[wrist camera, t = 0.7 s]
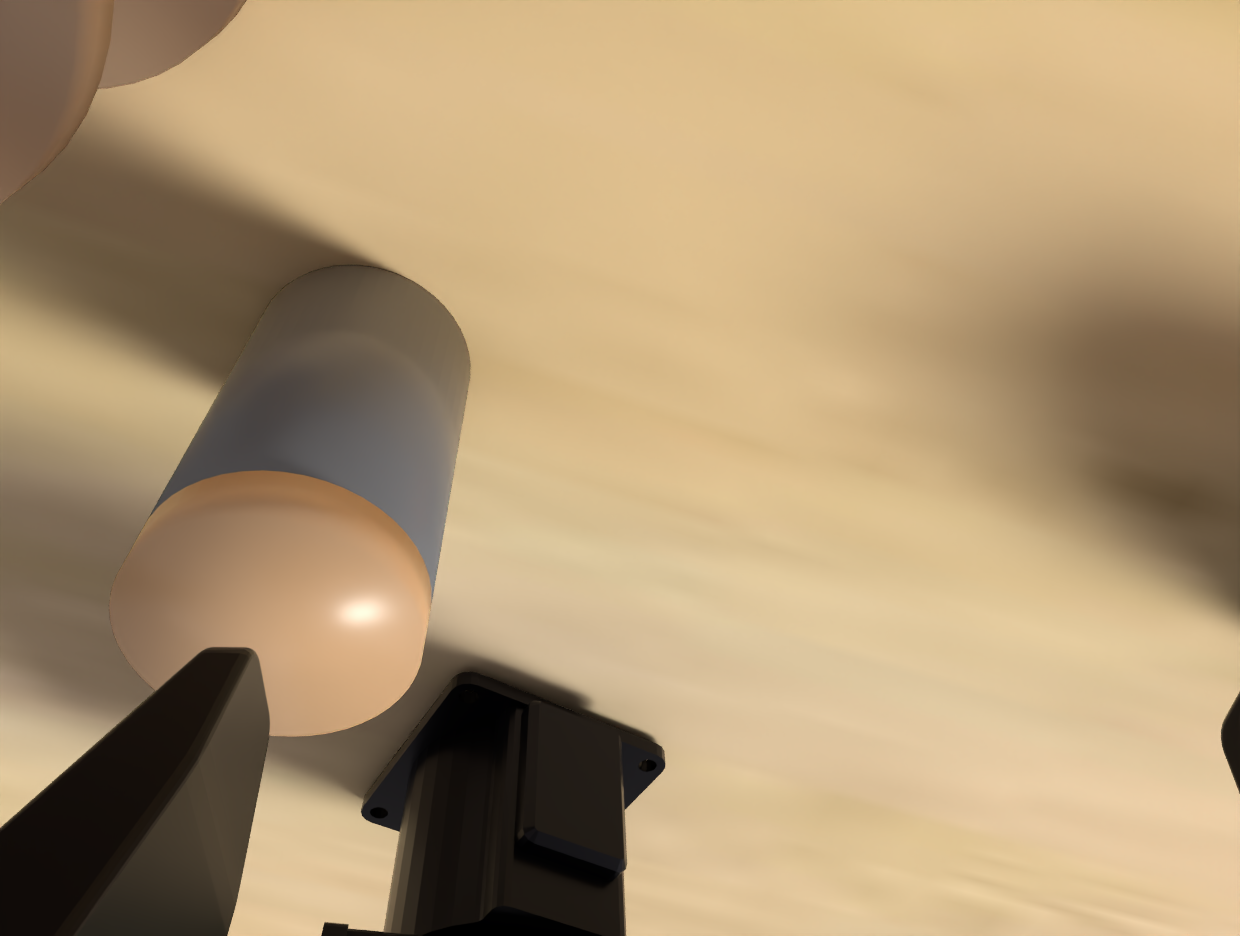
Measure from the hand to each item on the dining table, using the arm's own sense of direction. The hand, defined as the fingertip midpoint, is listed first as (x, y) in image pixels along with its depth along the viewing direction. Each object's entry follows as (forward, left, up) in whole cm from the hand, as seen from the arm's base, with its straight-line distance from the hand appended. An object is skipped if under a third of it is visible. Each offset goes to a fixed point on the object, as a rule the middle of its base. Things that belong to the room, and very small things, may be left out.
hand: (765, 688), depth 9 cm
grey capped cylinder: (-6, +3, -13) cm, 14 cm away
